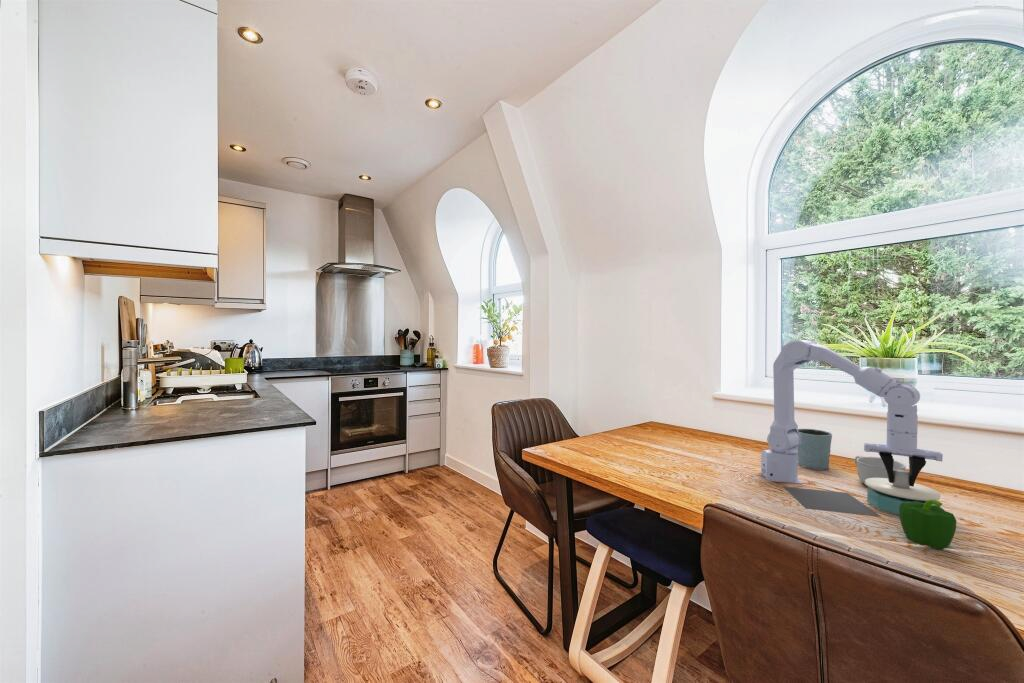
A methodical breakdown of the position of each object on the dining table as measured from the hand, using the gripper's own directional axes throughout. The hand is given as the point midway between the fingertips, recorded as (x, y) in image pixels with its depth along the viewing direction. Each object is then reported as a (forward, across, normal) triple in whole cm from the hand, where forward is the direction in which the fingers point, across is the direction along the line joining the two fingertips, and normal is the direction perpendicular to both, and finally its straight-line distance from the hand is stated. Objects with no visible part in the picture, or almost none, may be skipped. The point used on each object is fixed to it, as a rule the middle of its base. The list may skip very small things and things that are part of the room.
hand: (900, 483), depth 105 cm
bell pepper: (+7, +1, -21) cm, 22 cm away
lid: (+2, 0, 0) cm, 2 cm away
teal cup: (+7, -18, +32) cm, 37 cm away
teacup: (+7, -3, +19) cm, 21 cm away
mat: (+7, -15, -6) cm, 17 cm away
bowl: (+7, 0, 0) cm, 7 cm away
